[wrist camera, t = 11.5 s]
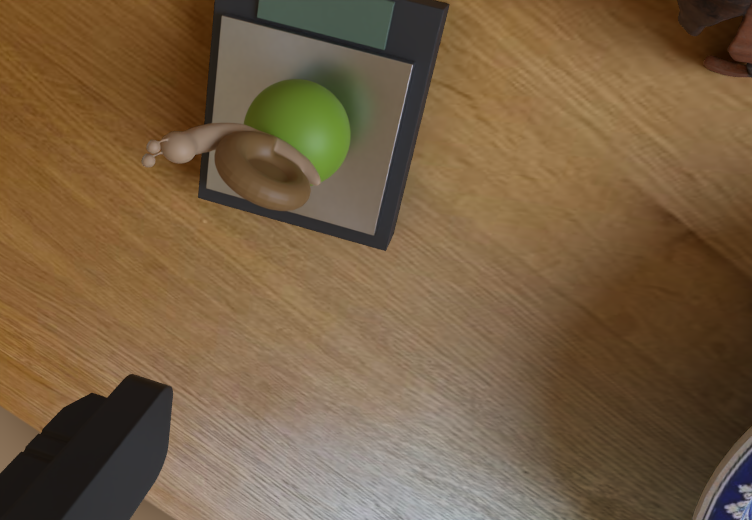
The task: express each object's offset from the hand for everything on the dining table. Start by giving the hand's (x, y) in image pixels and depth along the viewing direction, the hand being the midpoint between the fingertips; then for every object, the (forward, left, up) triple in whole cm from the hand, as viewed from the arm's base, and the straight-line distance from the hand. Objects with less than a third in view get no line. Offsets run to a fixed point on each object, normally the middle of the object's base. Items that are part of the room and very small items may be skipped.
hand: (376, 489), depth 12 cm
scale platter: (+4, -9, -27) cm, 29 cm away
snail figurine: (+3, -9, -27) cm, 28 cm away
